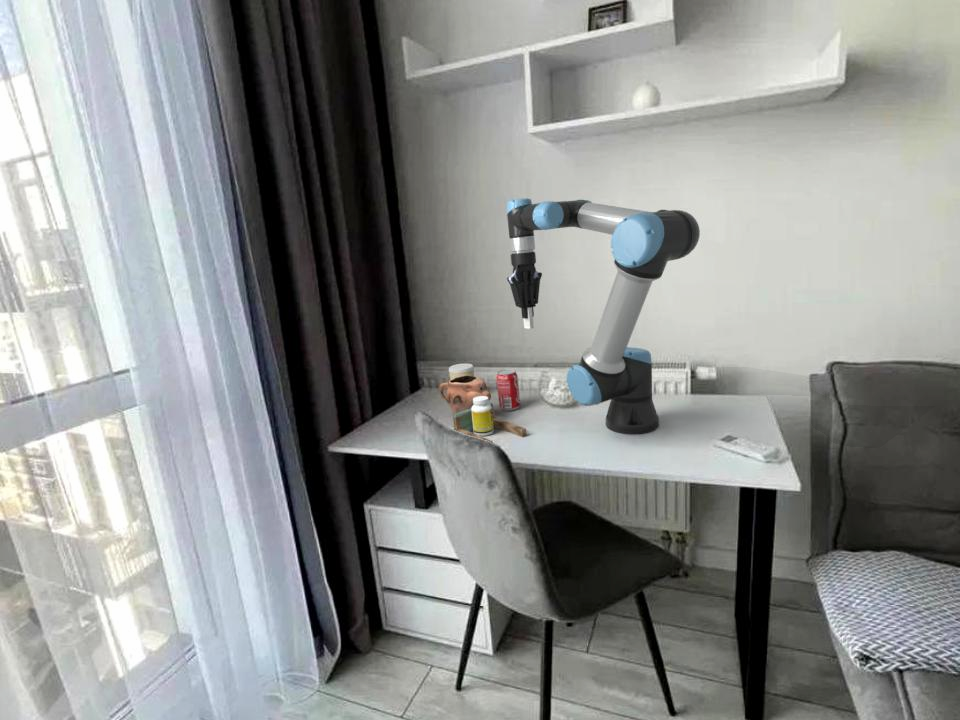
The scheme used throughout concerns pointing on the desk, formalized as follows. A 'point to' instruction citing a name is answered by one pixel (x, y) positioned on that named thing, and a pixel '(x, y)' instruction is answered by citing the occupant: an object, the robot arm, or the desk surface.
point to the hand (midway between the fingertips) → (528, 328)
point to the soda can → (508, 390)
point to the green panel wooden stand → (465, 424)
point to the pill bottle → (482, 416)
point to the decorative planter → (463, 392)
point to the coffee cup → (461, 370)
